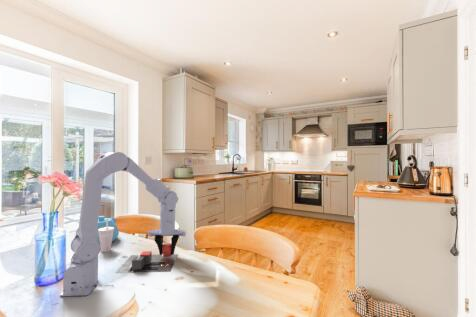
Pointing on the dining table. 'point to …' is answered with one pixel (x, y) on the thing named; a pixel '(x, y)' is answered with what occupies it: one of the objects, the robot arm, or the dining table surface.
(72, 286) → the robot arm
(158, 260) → the breaker panel
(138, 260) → the breaker plain
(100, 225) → the teapot
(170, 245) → the lockout cap
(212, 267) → the dining table surface
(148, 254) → the breaker tagged
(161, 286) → the dining table surface
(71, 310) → the dining table surface
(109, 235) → the smoothie
